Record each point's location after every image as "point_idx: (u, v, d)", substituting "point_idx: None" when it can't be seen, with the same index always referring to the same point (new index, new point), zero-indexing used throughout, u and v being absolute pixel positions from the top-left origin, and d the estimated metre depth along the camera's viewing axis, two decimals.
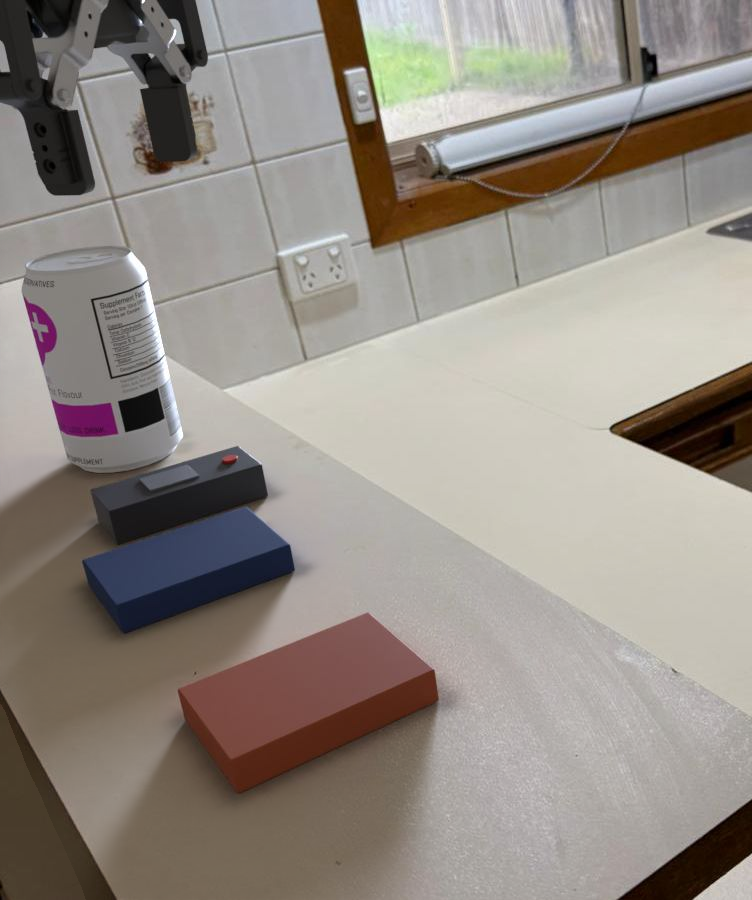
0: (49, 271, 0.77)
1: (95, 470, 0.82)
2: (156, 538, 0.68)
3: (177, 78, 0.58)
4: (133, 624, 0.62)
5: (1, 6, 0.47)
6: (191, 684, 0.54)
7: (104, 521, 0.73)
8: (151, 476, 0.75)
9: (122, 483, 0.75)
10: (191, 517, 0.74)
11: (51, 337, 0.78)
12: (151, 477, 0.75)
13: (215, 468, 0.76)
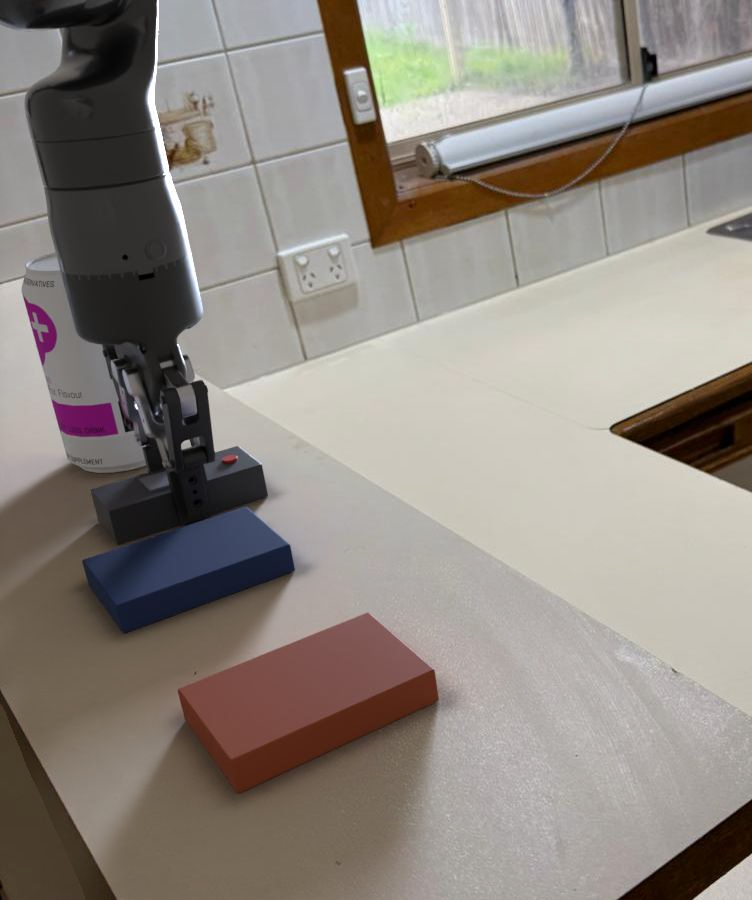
0: (49, 271, 0.77)
1: (95, 470, 0.82)
2: (156, 538, 0.68)
3: None
4: (133, 624, 0.62)
5: (207, 417, 0.69)
6: (191, 684, 0.54)
7: (104, 521, 0.73)
8: (151, 476, 0.75)
9: (122, 483, 0.75)
10: None
11: (51, 337, 0.78)
12: (151, 477, 0.75)
13: (215, 468, 0.76)
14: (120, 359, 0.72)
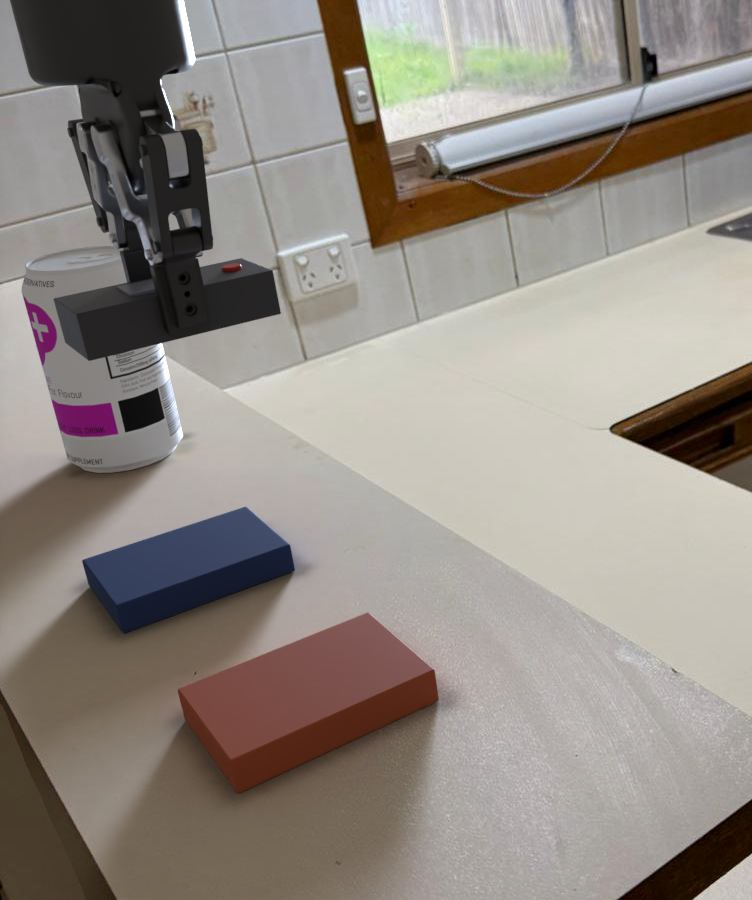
0: (49, 271, 0.77)
1: (95, 470, 0.82)
2: (156, 538, 0.68)
3: None
4: (133, 624, 0.62)
5: (202, 180, 0.52)
6: (191, 684, 0.54)
7: (72, 335, 0.57)
8: (132, 284, 0.59)
9: (95, 292, 0.58)
10: None
11: (51, 337, 0.78)
12: (132, 284, 0.59)
13: (213, 276, 0.60)
14: (88, 122, 0.56)
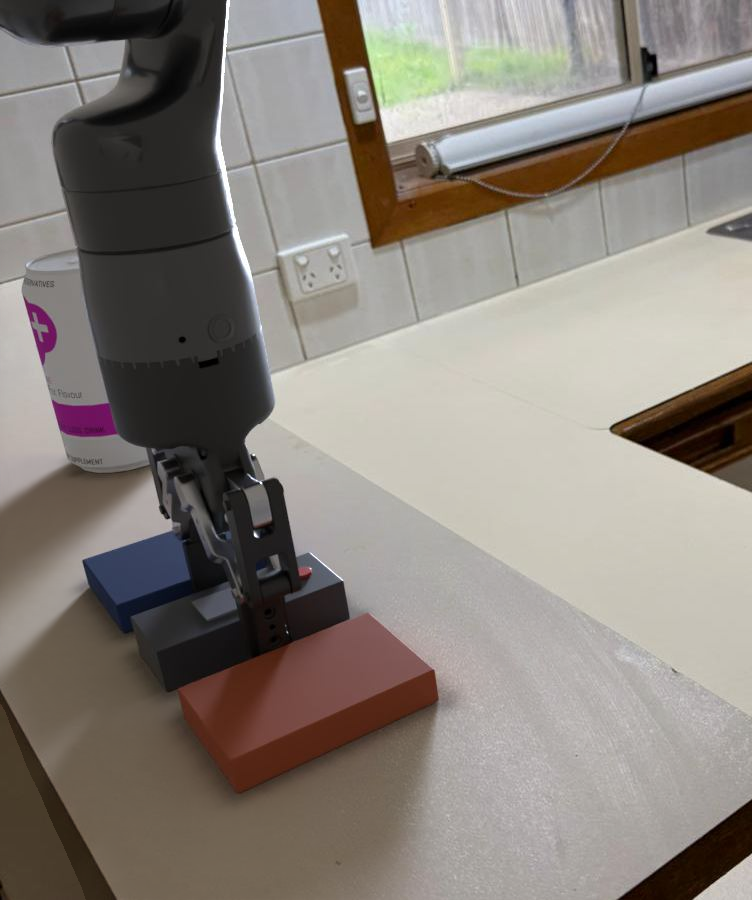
0: (49, 271, 0.77)
1: (95, 470, 0.82)
2: (156, 538, 0.68)
3: None
4: None
5: (286, 525, 0.53)
6: (191, 684, 0.54)
7: (149, 659, 0.58)
8: (206, 598, 0.60)
9: (170, 608, 0.59)
10: None
11: (51, 337, 0.78)
12: (206, 600, 0.60)
13: None
14: (170, 460, 0.57)
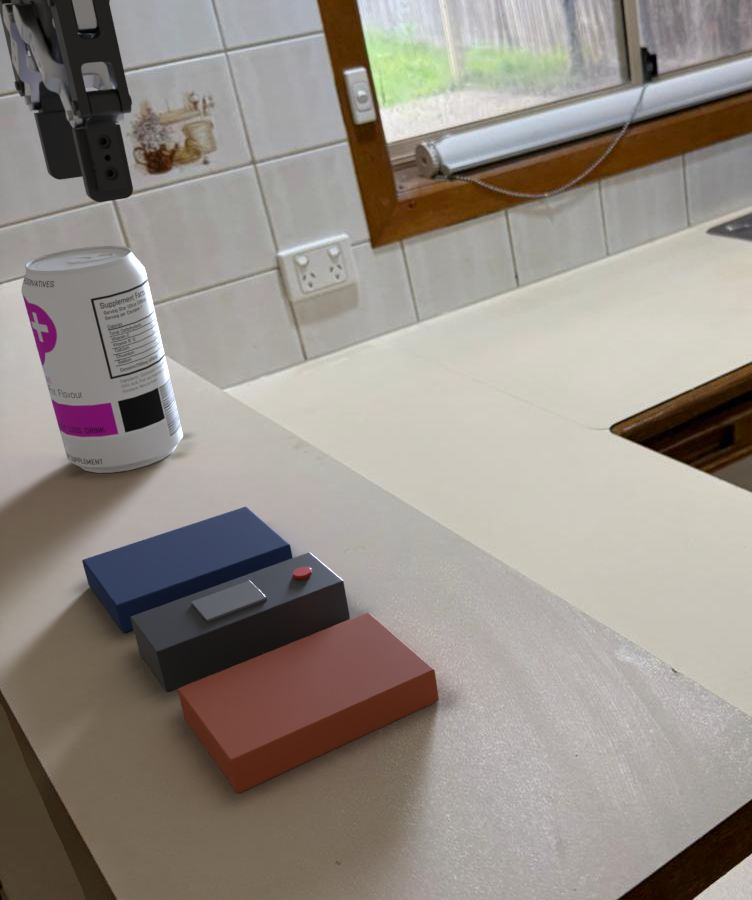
0: (49, 271, 0.77)
1: (95, 470, 0.82)
2: (156, 538, 0.68)
3: None
4: None
5: (111, 32, 0.55)
6: (191, 684, 0.54)
7: (149, 659, 0.58)
8: (206, 598, 0.60)
9: (170, 608, 0.59)
10: (257, 652, 0.59)
11: (51, 337, 0.78)
12: (206, 600, 0.60)
13: (285, 587, 0.61)
14: (13, 3, 0.59)
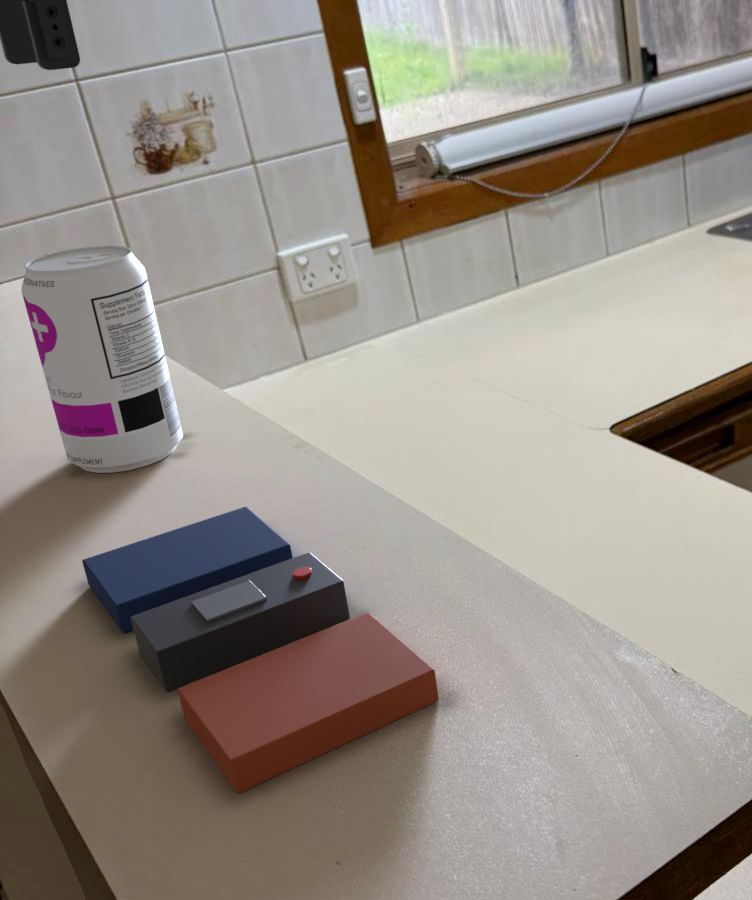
0: (49, 271, 0.77)
1: (95, 470, 0.82)
2: (156, 538, 0.68)
3: None
4: None
5: None
6: (191, 684, 0.54)
7: (149, 659, 0.58)
8: (206, 598, 0.60)
9: (170, 608, 0.59)
10: (257, 652, 0.59)
11: (51, 337, 0.78)
12: (206, 600, 0.60)
13: (285, 587, 0.61)
14: None
